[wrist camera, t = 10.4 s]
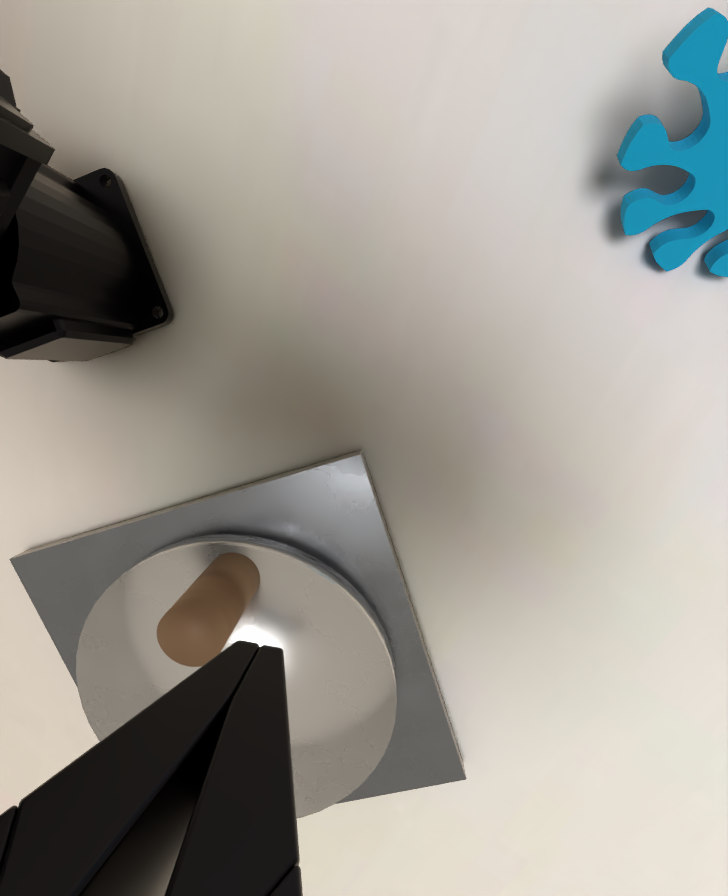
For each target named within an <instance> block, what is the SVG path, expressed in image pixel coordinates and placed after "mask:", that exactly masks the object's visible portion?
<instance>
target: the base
mask: <svg viewBox="0 0 728 896" xmlns="http://www.w3.org/2000/svg"><path fill="white" fill-rule="evenodd" d="M222 534H235V535H248V536H255V537H260V538H265V539H270V540H274V541H277V542H280V543H283V544H286V545H289V546H292V547H295V548H297V549H299V550H301V551H303V552H305V553H308V554H310V555H312V556H314V557H315V558H317V559H319V560H320V561H322V562H323V563H325V564H327V565H328V566H330V567H331V568H333V569H334V570H335V571H336V572H338V573H339V574H340V575H341V576H343V577H344V578H345V579H346V580H348V581H349V582H350V583H351V584H352V585H353V586H354V588H355V589H356V590H357V591H358V592H359V593H360V594H361V595H362V596H363V597H364V598H365V600H366V601H367V602H368V604H369V605H370V607H371V608H372V609H373V611H374V612H375V614H376V615H377V617H378V619H379V621H380V623H381V625H382V626H383V628H384V630H385V633H386V635H387V638H388V641H389V643H390V646H391V650H392V654H393V659H394V663H395V674H396V695H397V706H396V718H395V724H394V728H393V732H392V736H391V739H390V742H389V744H388V746H387V749H386V751H385V753H384V755H383V757H382V758H381V760H380V762H379V763H378V765H377V766H376V768H375V769H374V771H373V772H372V773H371V774H370V775H369V776H368V778H367V779H366V780H365V781H364V782H363V783H362V784H361V785H360V786H359V787H358V788H356V789H355V790H354V791H353V792H352V793H351V794H349V795H348V796H346V797H345V798H343V799H342V800H340V801H339V802H337V803H343V802H348V801H353V800H359V799H364V798H369V797H375V796H380V795H385V794H391V793H396V792H401V791H407V790H412V789H417V788H423V787H428V786H433V785H439V784H444V783H449V782H455V781H460V780H465V779H466V775H465V770H464V765H463V760H462V757H461V754H460V751H459V748H458V745H457V742H456V739H455V736H454V733H453V729H452V726H451V723H450V720H449V717H448V714H447V711H446V708H445V705H444V702H443V699H442V696H441V692H440V689H439V686H438V683H437V680H436V677H435V674H434V671H433V668H432V665H431V662H430V659H429V655H428V652H427V649H426V646H425V643H424V640H423V637H422V634H421V631H420V628H419V625H418V622H417V619H416V615H415V612H414V609H413V606H412V603H411V600H410V597H409V594H408V591H407V588H406V585H405V582H404V578H403V575H402V572H401V569H400V566H399V563H398V560H397V557H396V554H395V551H394V548H393V545H392V541H391V538H390V535H389V532H388V529H387V526H386V523H385V520H384V517H383V514H382V511H381V508H380V504H379V501H378V498H377V495H376V492H375V489H374V486H373V483H372V480H371V477H370V474H369V471H368V468H367V464H366V461H365V458H364V455H363V452H362V450H359V451H356V452H353V453H349V454H346V455H343V456H339V457H336V458H333V459H329V460H326V461H323V462H319V463H316V464H313V465H309V466H306V467H303V468H299V469H296V470H293V471H289V472H286V473H283V474H279V475H276V476H273V477H269V478H266V479H263V480H259V481H256V482H253V483H249V484H246V485H243V486H239V487H236V488H233V489H229V490H226V491H223V492H219V493H216V494H213V495H209V496H206V497H203V498H199V499H196V500H193V501H189V502H186V503H182V504H179V505H176V506H172V507H169V508H166V509H162V510H159V511H156V512H152V513H149V514H146V515H142V516H139V517H136V518H132V519H129V520H126V521H122V522H119V523H116V524H112V525H109V526H106V527H102V528H99V529H96V530H92V531H89V532H86V533H82V534H79V535H76V536H72V537H69V538H66V539H62V540H59V541H56V542H52V543H49V544H46V545H42V546H39V547H36V548H32V549H29V550H26V551H24V552H22V553H20V554H18V555H16V556H15V557H13V558H11V559H10V561H11V563H12V565H13V567H14V569H15V571H16V572H17V574H18V576H19V578H20V580H21V582H22V584H23V586H24V587H25V589H26V591H27V593H28V595H29V597H30V599H31V601H32V603H33V604H34V606H35V608H36V610H37V612H38V614H39V616H40V618H41V620H42V621H43V623H44V625H45V627H46V629H47V631H48V633H49V635H50V636H51V638H52V640H53V642H54V644H55V646H56V648H57V650H58V652H59V653H60V655H61V657H62V659H63V661H64V663H65V665H66V667H67V669H68V670H69V672H70V674H71V676H72V678H73V680H74V682H75V684H76V686H77V687H78V685H77V677H76V654H77V649H78V643H79V638H80V635H81V632H82V629H83V626H84V624H85V621H86V619H87V617H88V615H89V613H90V612H91V610H92V608H93V606H94V604H95V603H96V602H97V600H98V599H99V598H100V597H101V595H102V594H103V593H104V592H105V590H106V589H107V588H108V587H109V586H110V585H112V584H113V583H114V582H115V581H116V580H117V579H118V578H119V577H120V576H121V575H123V574H124V573H125V572H127V571H128V570H129V569H130V568H132V567H133V566H134V565H136V564H137V563H138V562H140V561H141V560H143V559H144V558H146V557H147V556H149V555H150V554H152V553H154V552H156V551H158V550H160V549H162V548H164V547H166V546H168V545H170V544H174V543H177V542H180V541H183V540H186V539H190V538H195V537H201V536H207V535H222ZM337 803H335V804H337Z"/></svg>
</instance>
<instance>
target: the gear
mask: <svg viewBox="0 0 728 896" xmlns="http://www.w3.org/2000/svg"><path fill="white" fill-rule="evenodd" d="M727 39H728V21H727V19H726V18H725V17H724V16H723V15H722V14H720V13H719V12H717V11H715V10H714V9H712V8H707V9H705V10H704V11H702V12H701V13H700V14H698V15H697V16H696V17H695V18H694V19H692V20H691V21H690V22H689V23H688V24H687V25H686V26H685V27H684V28H683V29H682V30H681V31H680V32H679V33H678V34H677V35H676V36H675V38H674V39H673V40H672V41H671V42H670V44H669V45H668V46H667V47H666V48H665V49H664V51H663V55H662V60H663V64H664V66H665V67H666V69H667V70H668V71H669V72H670V74H671V75H672V76H673V77H674V78H676V79H679V80H684V81H688V82H690V83H692V84H694V85H696V86H697V88H698V89H699V93H700V96H701V101H702V107H703V116H702V120H701V122H700V124H699V125H698V127H697V128H696V129H695V130H694V131H693V133H691V134H690V135H689V136H688V137H686V138H684V139H682V140H680V141H676V142H670V141H668V137H667V132H666V130H665V128H664V126H663V125H662V123H661V122H660V120H659V119H658V118H657V117H656V116H654V115H649V114H648V115H642V116H639V117H638V118H637V119H636V120H635V122H634V123H633V124H632V126H631V127H630V129H629V130H628V132H627V134H626V136H625V138H624V140H623V142H622V144H621V146H620V149H619V151H618V154H617V157H618V160H619V162H620V165H621V166H622V167H623V168H624V169H626V170H628V171H637V170H640V169H643V168H646V167H650V166H655V165H672V166H677V167H679V168H682V169H684V170H686V171H687V172H689V176H688V179H687V180H686V182H685V183H684V184H683V186H682V187H681V188H679V189H678V190H677V191H675V192H673V193H671V194H668V195H660V194H657V193H655V192H653V191H651V190H649V189H647V188H639V189H635V190H633V191H631V192H629V193H627V194H626V195H625V196H624V198H623V200H622V204H621V223H622V227H623V230H624V233H625V235H636V234H639V233H641V232H643V231H645V230H647V229H648V228H649V227H651V226H652V225H654V224H656V223H657V222H659V221H661V220H663V219H665V218H667V217H670V216H672V215H676V214H679V213H683V212H688V211H696V210H708V211H707V213H706V215H705V216H704V217H703V218H702V219H701V220H700V221H699V222H698V223H696V224H694V225H692V226H690V227H686V228H677V229H670V230H666V231H664V232H662V233H660V234H658V235H657V236H655V237H654V238H653V239H652V240H651V242H650V243H649V244H650V248H651V251H652V253H653V256H654V258H655V260H656V262H657V263H658V264H659V266H660V267H662V268H663V269H664V270H665V271H670V270H673V269H675V268H677V267H679V266H680V265H682V264H683V263H684V262H685V261H686V260H687V259H688V258H689V257H690V256H691V254H692V253H693V252H694V251H696V250H697V249H698V248H699V247H700V246H701V245H703V244H704V243H705V242H706V241H708V240H710V239H711V238H713V237H714V236H716V235H718V234H720V233H722V232H724V231H726V230H728V72H726V73H721V74H718V73H717V67H718V63H719V60H720V58H721V55H722V53H723V50H724V47H725V45H726V42H727ZM704 261H705V263H706V265H707V267H708V269H709V271H710V272H711V273H713V274H715V275H718V276H724V277H728V240H725V241H723V242H721V243H719V244H717V245H716V246H714V247H713V248H712V249H711V250H710V251H709V252H708V253H707V255H706V256H705V259H704Z"/></svg>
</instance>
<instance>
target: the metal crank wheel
mask: <svg viewBox="0 0 728 896" xmlns="http://www.w3.org/2000/svg"><path fill="white" fill-rule="evenodd" d="M238 640H244V641H249V642H254V643H258V644H259V645H260V647H261V646H262V645H269V646H274V647H279V648H282V649H283V652H284V665H285V678H286V691H287V704H288V717H289V729H290V742H291V755H292V768H293V781H294V794H295V807H296V818H301V817H304V816H307V815H310V814H313V813H316V812H319V811H321V810H323V809H325V808H327V807H329V806H331V805H333V804H335V803H337V802H339V801H340V800H342V799H343V798H345V797H346V796H348V795H349V794H351V793H352V792H353V791H354V790H355V789H356V788H358V787H359V786H360V785H361V784H362V783H363V782H364V781H365V780H366V779H367V778H368V776H369V775H370V774H371V773H372V772H373V771H374V769H375V768H376V766H377V765H378V763H379V762H380V760H381V758H382V757H383V755H384V753H385V751H386V749H387V746H388V744H389V742H390V739H391V736H392V732H393V728H394V724H395V718H396V706H397V695H396V674H395V663H394V659H393V654H392V650H391V646H390V643H389V641H388V638H387V635H386V633H385V630H384V628H383V626H382V625H381V623H380V621H379V619H378V617H377V615H376V614H375V612H374V611H373V609H372V608H371V607H370V605H369V604H368V602H367V601H366V600H365V598H364V597H363V596H362V595H361V594H360V593H359V592H358V591H357V590H356V589H355V588H354V586H353V585H352V584H351V583H350V582H349V581H348V580H346V579H345V578H344V577H343V576H341V575H340V574H339V573H338V572H336V571H335V570H334V569H333V568H331V567H330V566H328V565H327V564H325V563H323V562H322V561H320V560H319V559H317V558H315V557H314V556H312V555H310V554H308V553H305V552H303V551H301V550H299V549H297V548H295V547H292V546H289V545H286V544H283V543H280V542H277V541H274V540H270V539H265V538H260V537H255V536H248V535H235V534H222V535H207V536H201V537H195V538H190V539H186V540H183V541H180V542H177V543H174V544H170V545H168V546H166V547H164V548H162V549H160V550H158V551H156V552H154V553H152V554H150V555H149V556H147V557H146V558H144V559H143V560H141V561H140V562H138V563H137V564H136V565H134V566H133V567H132V568H130V569H129V570H128V571H127V572H125V573H124V574H123V575H121V576H120V577H119V578H118V579H117V580H116V581H115V582H114V583H113V584H112V585H110V586H109V587H108V588H107V589H106V590H105V592H104V593H103V594H102V595H101V597H100V598H99V599H98V600H97V602H96V603H95V604H94V606H93V608H92V610H91V612H90V613H89V615H88V617H87V619H86V621H85V624H84V626H83V629H82V632H81V635H80V638H79V643H78V649H77V654H76V677H77V685H78V692H79V695H80V699H81V703H82V707H83V709H84V712H85V714H86V717H87V719H88V721H89V724H90V726H91V727H92V729H93V731H94V733H95V734H96V736H97V738H98V740H99V741H102V740H103V739H104V738H106V737H107V736H108V735H110V734H111V733H112V732H114V731H115V730H116V729H118V728H119V727H121V726H122V725H123V724H125V723H126V722H127V721H129V720H130V719H131V718H133V717H134V716H135V715H137V714H138V713H139V712H141V711H142V710H144V709H145V708H146V707H148V706H149V705H150V704H152V703H153V702H154V701H156V700H157V699H158V698H160V697H161V696H163V695H164V694H165V693H167V692H168V691H169V690H171V689H172V688H173V687H175V686H176V685H177V684H179V683H180V682H181V681H183V680H184V679H186V678H187V677H188V676H190V675H191V674H192V673H194V672H195V671H196V670H198V669H199V668H200V667H202V666H203V665H204V664H206V663H207V662H209V661H210V660H211V659H213V658H214V657H215V656H217V655H218V654H219V653H221V652H222V651H223V650H225V649H226V648H227V647H229V646H230V645H232V644H233V643H234V642H236V641H238Z"/></svg>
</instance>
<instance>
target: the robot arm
mask: <svg viewBox="0 0 728 896" xmlns="http://www.w3.org/2000/svg"><path fill="white" fill-rule="evenodd" d="M33 126H34V125H33V124H32V123H31V122H30V121H29V120H27V119H26V118H25V117H24V116H23V115H22V114H21V113H20V110H19V109H18V108H17V107H16V103H15V99H14V94H13V90H12V86H11V82H10V77H9V76H7V75H6V74H5V73H4V72H3V71H2V70H0V356H1V357H3V358H6V359H28V360H48V361H51V362H65V361H88V360H91V359H94V358H97V357H100V356H102V355H105V354H108V353H111V352H113V351H116V350H119V349H122V348H125V347H127V346H130V345H132V344H133V342H134V340H135V338H134V336H137V335H139V334H142V333H145V332H148V331H150V330H153V329H156V328H159V327H161V326H164V325H167V324H169V323H170V322H171V321H172V319H173V310H172V307H171V305H170V302H169V300H168V297H167V294H166V292H165V289H164V287H163V284H162V282H161V279H160V277H159V274H158V272H157V269H156V266H155V264H154V261H153V259H152V256H151V254H150V251H149V249H148V246H147V243H146V241H145V238H144V236H143V233H142V231H141V228H140V226H139V223H138V221H137V218H136V215H135V213H134V210H133V208H132V205H131V203H130V200H129V198H128V195H127V192H126V190H125V187H124V185H123V182H122V180H121V179H120V177H119V176H117V175H116V174H115V173H113V172H112V171H111V170H109V169H106V168H102V169H99V170H96V171H94V172H92V173H89V174H87V175H85V176H82V177H80V178H78V179H75V180H71V179H69V178H68V177H66V176H64V175H63V174H61V173H59V172H58V171H56V170H54V169H53V168H51V167H49V166H48V165H47V164H48V162H49V160H50V158H51V156H52V154H53V153H54V151H55V149H54V148H53V147H52V146H51V145H50V144H49V143H47V142H46V141H45V140H44V139H43V138H41V137H40V136H39V135H38V134H37V133H36V132H34V131H33V130H32V128H33ZM110 179H111V186H110V187H109V188H107V186H106V184H107V181H108V180H110ZM160 308H162V310H163V316H162V317H161V318H159V317H158V314H157V312H158V309H160ZM299 860H300V859H299V846H298V833H297V820H296V807H295V794H294V781H293V768H292V755H291V742H290V729H289V717H288V704H287V691H286V678H285V665H284V652H283V649H282V648H279V647H274V646H269V645H262V646H261V647H260V645H259V644H258V643H254V642H249V641H244V640H238V641H236V642H234V643H233V644H232V645H230V646H229V647H227V648H226V649H225V650H223V651H222V652H221V653H219V654H218V655H217V656H215V657H214V658H213V659H211V660H210V661H209V662H207V663H206V664H204V665H203V666H202V667H200V668H199V669H198V670H196V671H195V672H194V673H192V674H191V675H190V676H188V677H187V678H186V679H184V680H183V681H181V682H180V683H179V684H177V685H176V686H175V687H173V688H172V689H171V690H169V691H168V692H167V693H165V694H164V695H163V696H161V697H160V698H158V699H157V700H156V701H154V702H153V703H152V704H150V705H149V706H148V707H146V708H145V709H144V710H142V711H141V712H139V713H138V714H137V715H135V716H134V717H133V718H131V719H130V720H129V721H127V722H126V723H125V724H123V725H122V726H121V727H119V728H118V729H116V730H115V731H114V732H112V733H111V734H110V735H108V736H107V737H106V738H104V739H103V740H102V741H100V742H99V743H98V744H96V745H95V746H93V747H92V748H91V749H89V750H88V751H87V752H85V753H84V754H83V755H81V756H80V757H79V758H77V759H76V760H75V761H73V762H72V763H70V764H69V765H68V766H66V767H65V768H64V769H62V770H61V771H60V772H58V773H57V774H56V775H54V776H53V777H51V778H50V779H49V780H47V781H46V782H45V783H43V784H42V785H41V786H39V787H38V788H37V789H35V790H34V791H33V792H31V793H30V794H28V795H27V796H26V797H24V798H23V799H22V800H21V801H20V803H19V806H18V807H17V806H12V807H10V808H9V809H8V810H6V811H5V812H4V813H2V814H1V815H0V896H303V894H302V881H301V869H300V867H299Z"/></svg>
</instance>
